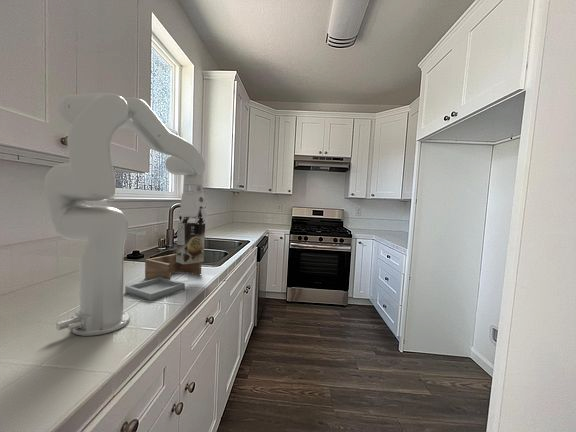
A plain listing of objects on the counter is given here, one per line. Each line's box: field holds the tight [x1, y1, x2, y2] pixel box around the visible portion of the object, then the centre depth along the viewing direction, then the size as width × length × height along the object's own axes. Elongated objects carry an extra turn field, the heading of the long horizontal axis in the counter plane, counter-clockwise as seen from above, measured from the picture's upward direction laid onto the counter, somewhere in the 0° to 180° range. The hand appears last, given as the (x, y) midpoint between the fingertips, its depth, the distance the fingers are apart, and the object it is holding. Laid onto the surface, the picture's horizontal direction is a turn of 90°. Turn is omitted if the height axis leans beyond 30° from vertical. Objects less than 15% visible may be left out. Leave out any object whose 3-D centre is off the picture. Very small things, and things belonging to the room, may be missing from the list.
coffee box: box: [175, 222, 206, 264], centre depth 111 cm, size 9×6×16 cm
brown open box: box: [144, 253, 202, 280], centre depth 117 cm, size 17×14×8 cm
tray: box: [124, 277, 186, 302], centre depth 99 cm, size 14×14×2 cm
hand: (191, 233), depth 111 cm, fingers closed on coffee box, 6 cm apart
